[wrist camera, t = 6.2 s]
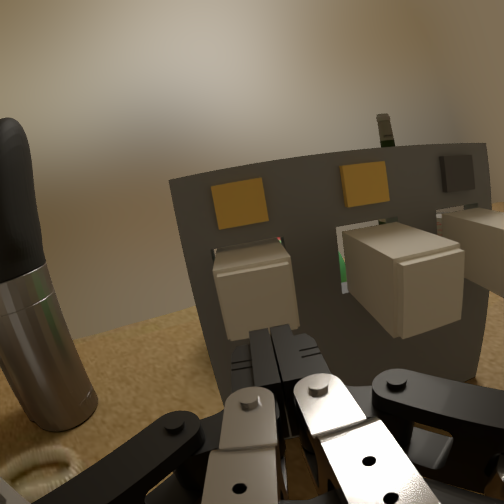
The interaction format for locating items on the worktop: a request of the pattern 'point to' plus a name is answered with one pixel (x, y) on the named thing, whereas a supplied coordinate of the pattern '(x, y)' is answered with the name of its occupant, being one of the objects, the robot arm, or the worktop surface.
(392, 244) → the middle button
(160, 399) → the worktop surface
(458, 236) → the right button
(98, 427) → the worktop surface
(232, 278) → the left button
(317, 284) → the button panel
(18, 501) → the grater
